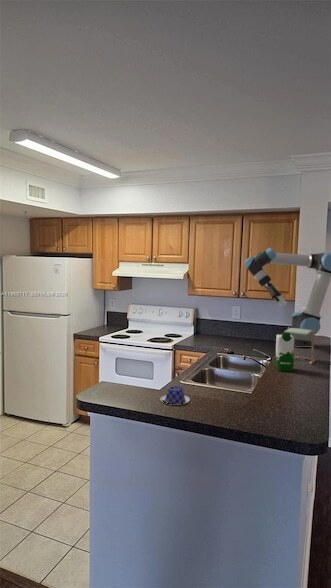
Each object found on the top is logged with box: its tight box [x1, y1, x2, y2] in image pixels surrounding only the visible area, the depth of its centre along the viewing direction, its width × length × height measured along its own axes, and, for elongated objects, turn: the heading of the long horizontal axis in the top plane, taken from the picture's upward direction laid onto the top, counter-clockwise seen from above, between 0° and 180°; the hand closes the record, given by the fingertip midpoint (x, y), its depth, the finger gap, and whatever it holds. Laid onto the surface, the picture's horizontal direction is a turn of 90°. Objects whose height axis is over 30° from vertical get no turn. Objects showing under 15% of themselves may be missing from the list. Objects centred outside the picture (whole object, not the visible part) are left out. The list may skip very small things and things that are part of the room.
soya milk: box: [275, 331, 295, 372], centre depth 197 cm, size 9×9×20 cm
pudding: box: [159, 386, 191, 405], centre depth 152 cm, size 12×12×5 cm
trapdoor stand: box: [287, 326, 316, 365], centre depth 216 cm, size 10×15×19 cm
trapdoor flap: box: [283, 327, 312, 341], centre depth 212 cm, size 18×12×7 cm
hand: (284, 305), depth 233 cm, fingers open, 13 cm apart
